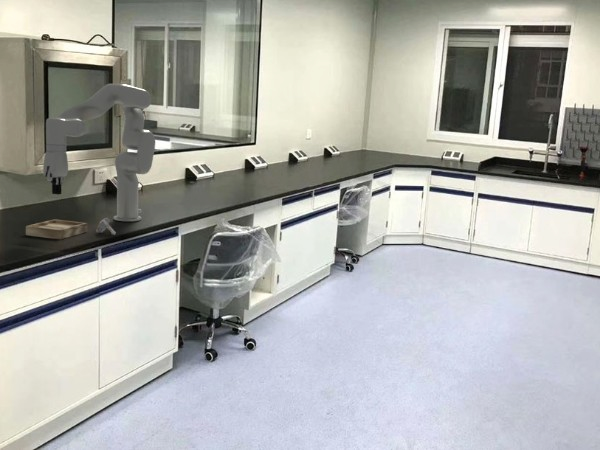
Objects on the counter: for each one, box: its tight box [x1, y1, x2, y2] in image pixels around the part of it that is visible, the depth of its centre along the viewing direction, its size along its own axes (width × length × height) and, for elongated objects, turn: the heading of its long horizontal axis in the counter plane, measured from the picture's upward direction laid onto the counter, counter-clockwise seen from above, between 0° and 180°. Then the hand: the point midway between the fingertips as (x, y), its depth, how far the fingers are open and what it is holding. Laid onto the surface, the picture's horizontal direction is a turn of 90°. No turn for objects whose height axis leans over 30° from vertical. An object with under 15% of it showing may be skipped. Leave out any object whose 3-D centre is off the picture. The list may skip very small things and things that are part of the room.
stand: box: [96, 217, 117, 236], centre depth 251 cm, size 8×5×8 cm
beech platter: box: [25, 219, 88, 240], centre depth 247 cm, size 18×16×4 cm
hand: (56, 193), depth 245 cm, fingers closed
